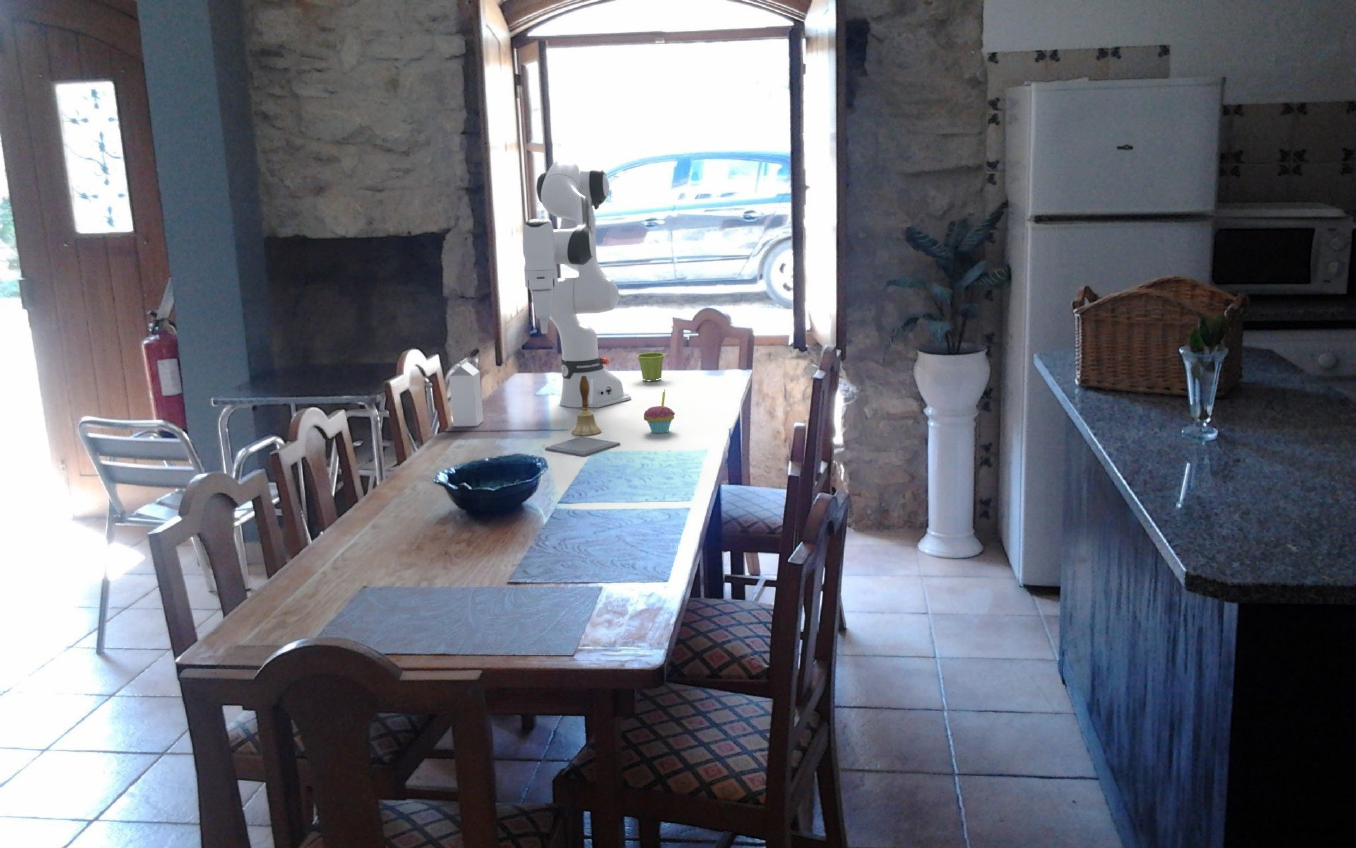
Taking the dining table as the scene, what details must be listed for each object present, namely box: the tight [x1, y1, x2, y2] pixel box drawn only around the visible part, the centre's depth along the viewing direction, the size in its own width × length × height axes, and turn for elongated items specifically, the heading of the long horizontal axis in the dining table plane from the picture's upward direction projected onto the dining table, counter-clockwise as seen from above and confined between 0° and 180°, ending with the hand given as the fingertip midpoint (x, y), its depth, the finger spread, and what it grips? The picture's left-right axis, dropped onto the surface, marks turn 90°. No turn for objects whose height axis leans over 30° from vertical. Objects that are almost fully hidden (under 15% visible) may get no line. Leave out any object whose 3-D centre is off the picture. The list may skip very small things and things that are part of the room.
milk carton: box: [448, 357, 484, 427], centre depth 337 cm, size 7×7×19 cm
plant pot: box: [636, 352, 665, 381], centre depth 394 cm, size 9×9×9 cm
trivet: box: [544, 435, 621, 458], centre depth 307 cm, size 14×14×1 cm
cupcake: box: [643, 389, 676, 434], centre depth 320 cm, size 9×8×12 cm
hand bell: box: [571, 376, 602, 437], centre depth 322 cm, size 8×8×16 cm
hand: (544, 330), depth 317 cm, fingers open, 8 cm apart
